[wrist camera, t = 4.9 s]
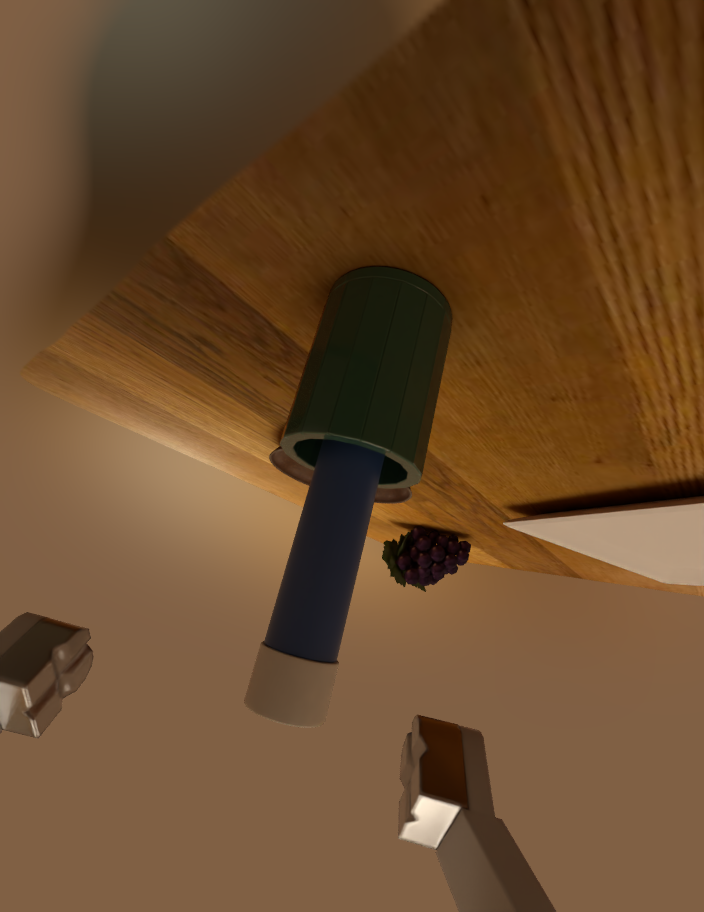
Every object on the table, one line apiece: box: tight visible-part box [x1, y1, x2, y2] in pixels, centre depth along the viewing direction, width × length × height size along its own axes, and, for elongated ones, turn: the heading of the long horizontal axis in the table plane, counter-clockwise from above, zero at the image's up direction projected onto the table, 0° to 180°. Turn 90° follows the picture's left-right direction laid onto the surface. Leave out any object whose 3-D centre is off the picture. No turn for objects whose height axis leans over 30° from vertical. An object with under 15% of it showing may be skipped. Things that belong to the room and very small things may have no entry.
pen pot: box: [280, 267, 452, 489], centre depth 19 cm, size 6×6×8 cm
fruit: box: [382, 526, 471, 592], centre depth 66 cm, size 10×11×15 cm
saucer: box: [269, 446, 412, 503], centre depth 42 cm, size 15×15×3 cm
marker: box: [244, 439, 385, 727], centre depth 17 cm, size 3×3×17 cm
